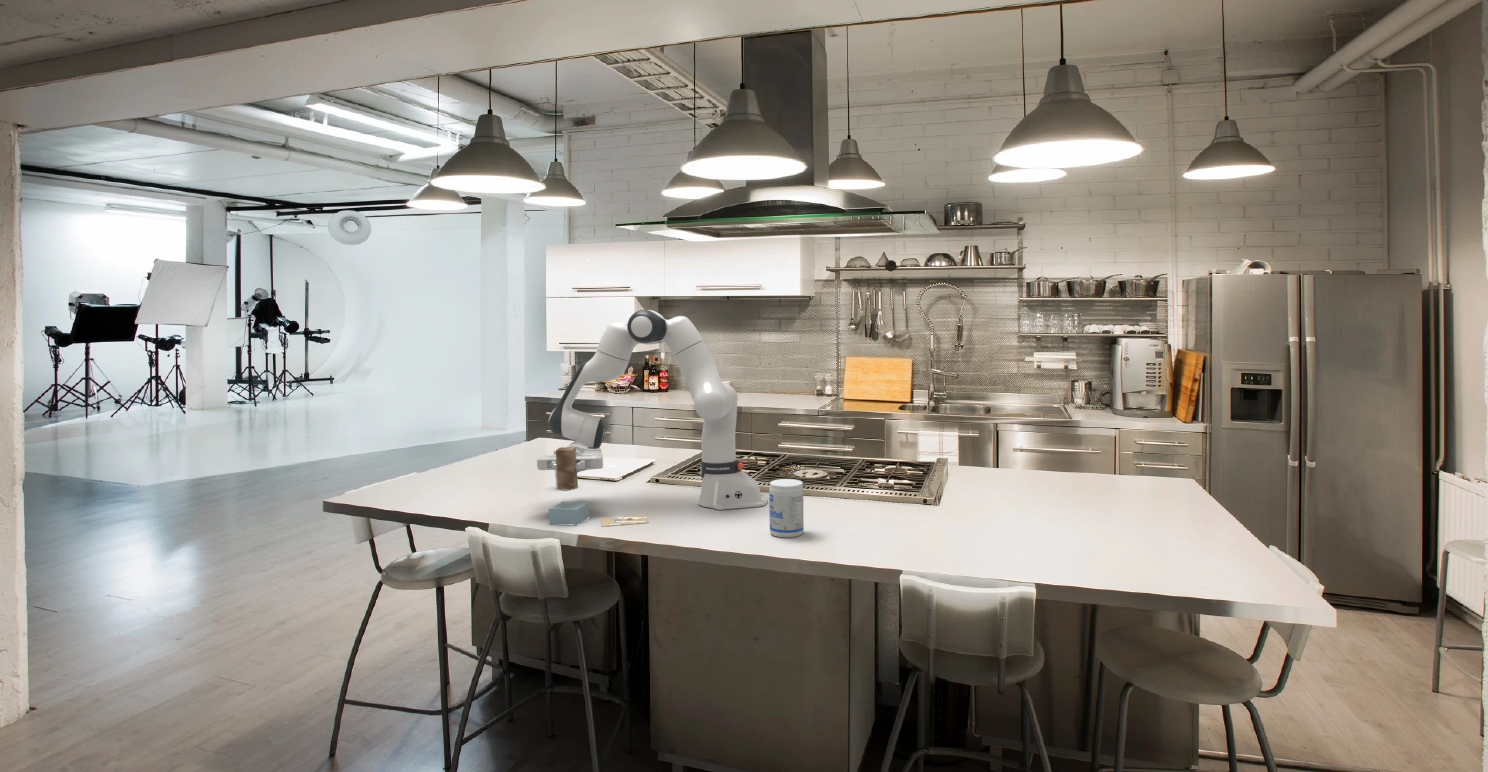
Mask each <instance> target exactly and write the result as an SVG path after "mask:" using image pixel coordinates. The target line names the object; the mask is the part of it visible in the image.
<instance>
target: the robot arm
mask: <svg viewBox="0 0 1488 772" xmlns="http://www.w3.org/2000/svg"><path fill="white" fill-rule="evenodd" d="M659 343H664V344H665V345H666V346H667V347H668V349H669V351H670V352H671V354H672V356H673V358H674V360H675V363H676V364H677V366H678V367H679V370H680V371H681V373H682V376H683V378H684V379H685V381H686V385H687V388H688V391H689V394H690V396H691V399H692V401H693V403H694V410H695V412H696V413H697V415H698V417H700V418H701V419H702V420H703V422H702V423H703V424H702V432H701V437H700V438H701V440H700V443H701V461H700V478H701V485H700V486H701V487H700V494H699V498H698V499H699V500H698V502H697V503H698V505H700V506H701V507H706V508H710V509H714V510H719V511H720V510H721V511H722V510H733V509H747V508H758V507H763V506H766V505H767V504H768V499H767V498H768V497H767V496H766V495H764V494H762V493H761V489H760V485H759V483H758V482H757V481H756V480H755V479H754V478H753V477H751V476H750V475H749V474H747V473H746V472H744V471H743V469H744V468H745V465H744V463H743V462H742V461H741V460H739V459H737V458H736V453H737V452H736V430H737V429H736V428H737V416H738V400H739V399H738V398H739V397H738V394H737V391H736V389H735V388H734V387H733V386H732V385H731V384H728V383H725V382H722V380H721V377H720V375H719V372H718V368H717V365H716V361H715V360H714V358H713V355H712V354H711V352H710V350H709V348H708V345H707V344H706V342H705V340H704V339H703V336H702V335H701V334H700V331H698V329H697V328H696V326H695V325H694V323H693V322H692V321H691V320H690V318H688V317H687V316H684V315H678V316H674V317H672V318H669V319H667V318H666V317H665V315H663V314H662V313H661V312H660V313H659V312H657V311H655V310H652V309H639V310H637V311H636V312H634V313H633V314H632V315H631V316H630V317H629V319H628V321H627V323H626V322H623V321H613V322H610V323H609V324H608V326H606V328H605V331H604V332H603V334H602V336H601V338H600V340H599V343H598V345H597V347H596V350H595V351H596V352H594V355H593V356H592V357H591V358H590V359H589V360H588V361H584V362H583V363H581V364H580V365H579V366H578V368H577V370H576V371H575V373H574V375H573V377H572V378H571V380H570V381H569V383H568V385H567V387H566V389H565V390H564V393H563V395H562V396H561V397H560V400H559V402H558V403H557V405H556V407H555V408H553V410H552V412H551V413H550V414H549V418H548V421H547V422H548V423H547V425H548V429H549V430H550V431H551V433H552V435H554V436H557V437H558V436H559V437H563V438H567V439H570V440H573V441H572V442H571V443H570V444H568V446H567V447H576V463H575V464H574V466H575V467H574V469H577V474H578V473H580V472H584V471H588V470H589V471H591V470H599V469H600V470H601V469H603V468H604V456H603V451H602V449H601V445H603V443H604V442H603V441H604V440H605V435H606V425H605V421H604V420H603V418H601V417H598V416H597V415H596V416H595V415H593V414H590V413H586V412H584V411H580V410H578V409H575V408H573V407H572V406H573V404H574V402H575V400H576V399H577V397H578V395H579V393H580V391H581V389H582V388H583V386H584V385H586V384H588V383H592V382H593V383H594V382H610V381H614V380H617V379H619V378H621V377H622V376H623V375H624V374H625V372H626V370H627V368H628V365H629V362H630V360H631V356H632V353H633V351H634V349H635V347H636V346H637V345H640V344H644V345H657V344H659ZM536 468H537V470H539V471H555V470H557V465H556V455H554V454H547V455H542V456H540V457H538V458H537V459H536Z"/></svg>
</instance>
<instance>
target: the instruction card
mask: <svg viewBox="0 0 1488 772" xmlns="http://www.w3.org/2000/svg"><path fill="white" fill-rule="evenodd" d="M604 517H605V516H604ZM607 517H608V516H606V517H605V518H603V517H600V523H601V525H602V526H605V527H613V526H612V525H610V524H630V525H638V524H637V523H640V522H635V523H634V522H624V523H623V522H622V523H621V522H616V521H645V522H641V523H643V524H650V521H649V519H648V515H647V514H646V515H642V514H632V515H631V514H630V515H618V516H617V515H615V517H643V518H639V519H634V518H633V519H632V518H628V519H624V518H622V519H619V518H607ZM644 517H647V518H644ZM613 521H614V522H613ZM648 521H649V522H648ZM601 525H600V526H601ZM602 526H601V527H602Z"/></svg>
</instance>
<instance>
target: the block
mask: <svg viewBox="0 0 1488 772" xmlns="http://www.w3.org/2000/svg"><path fill="white" fill-rule="evenodd" d="M555 450H556V465H557V487H558V489H557V490H558V491H559V490H560V491H565V490H564V489H569V490H576V489H577V488H576V487H577V479H578V473H577V469H574V467H575V466H574V464H575V463H576V447H568V446H566V447H564V446H563V447H557V449H555Z"/></svg>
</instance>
